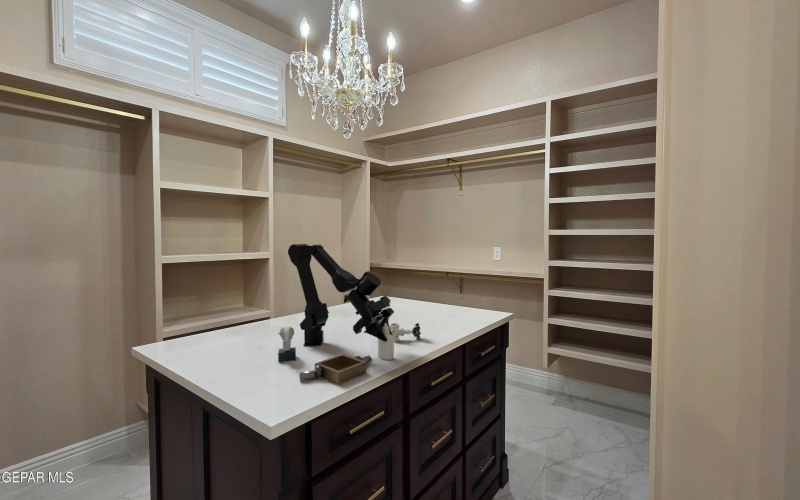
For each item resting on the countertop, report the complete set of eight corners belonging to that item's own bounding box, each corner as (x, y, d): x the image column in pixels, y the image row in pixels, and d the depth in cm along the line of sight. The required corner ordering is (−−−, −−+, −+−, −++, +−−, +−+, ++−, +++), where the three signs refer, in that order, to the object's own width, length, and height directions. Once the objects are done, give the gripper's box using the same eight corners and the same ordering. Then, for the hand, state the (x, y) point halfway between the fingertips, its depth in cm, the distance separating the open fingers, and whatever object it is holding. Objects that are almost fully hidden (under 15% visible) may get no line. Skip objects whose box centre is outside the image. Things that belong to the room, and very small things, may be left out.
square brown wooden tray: (338, 385, 98) (338, 373, 98) (314, 375, 105) (314, 363, 105) (366, 373, 106) (366, 361, 106) (342, 364, 113) (342, 353, 113)
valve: (390, 343, 135) (420, 342, 137) (390, 326, 134) (420, 325, 136) (388, 338, 141) (417, 337, 143) (388, 322, 141) (416, 321, 143)
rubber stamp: (295, 354, 123) (295, 323, 122) (295, 362, 115) (295, 329, 115) (279, 355, 121) (278, 324, 121) (277, 364, 114) (277, 331, 113)
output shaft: (320, 375, 105) (320, 363, 105) (322, 379, 102) (322, 367, 101) (299, 378, 102) (298, 366, 102) (300, 383, 99) (300, 371, 99)
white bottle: (383, 361, 116) (383, 326, 115) (376, 356, 121) (376, 322, 120) (395, 359, 118) (395, 324, 117) (388, 354, 123) (388, 320, 122)
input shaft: (359, 369, 109) (359, 358, 109) (351, 366, 111) (351, 355, 111) (373, 363, 114) (373, 353, 114) (365, 361, 116) (365, 350, 116)
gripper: (360, 293, 112) (389, 332, 107) (389, 285, 128) (416, 318, 123) (340, 315, 116) (368, 353, 111) (371, 304, 132) (397, 337, 127)
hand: (389, 339), depth 118 cm, fingers closed on white bottle, 3 cm apart
